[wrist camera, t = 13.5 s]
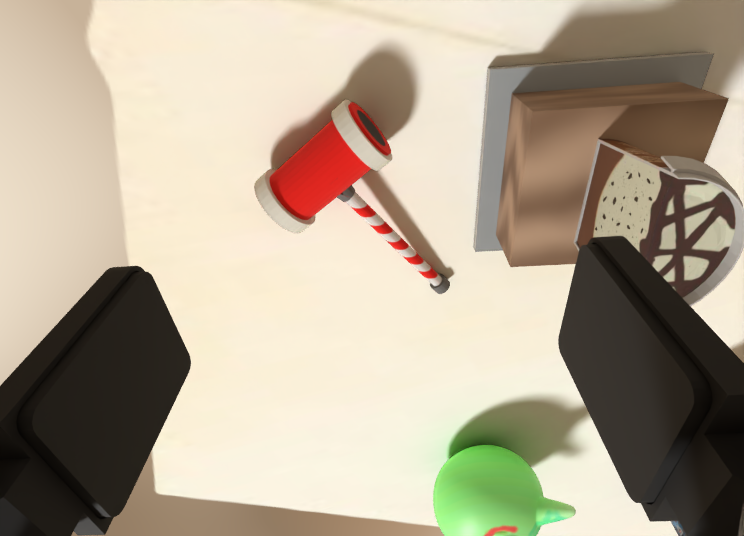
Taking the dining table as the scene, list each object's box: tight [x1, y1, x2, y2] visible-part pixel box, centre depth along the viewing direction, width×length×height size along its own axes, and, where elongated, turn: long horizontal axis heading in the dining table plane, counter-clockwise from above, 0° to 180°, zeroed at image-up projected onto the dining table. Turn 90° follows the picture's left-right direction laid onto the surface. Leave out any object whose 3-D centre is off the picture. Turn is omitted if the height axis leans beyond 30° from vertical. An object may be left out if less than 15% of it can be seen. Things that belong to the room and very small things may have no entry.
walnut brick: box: [496, 82, 729, 267], centre depth 37 cm, size 14×14×6 cm
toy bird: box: [433, 445, 576, 536], centre depth 63 cm, size 18×17×15 cm
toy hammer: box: [254, 99, 450, 294], centre depth 42 cm, size 23×12×6 cm, turn 41°
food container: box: [574, 139, 744, 307], centre depth 31 cm, size 12×6×10 cm, turn 4°
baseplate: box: [473, 52, 714, 252], centre depth 40 cm, size 18×18×1 cm
